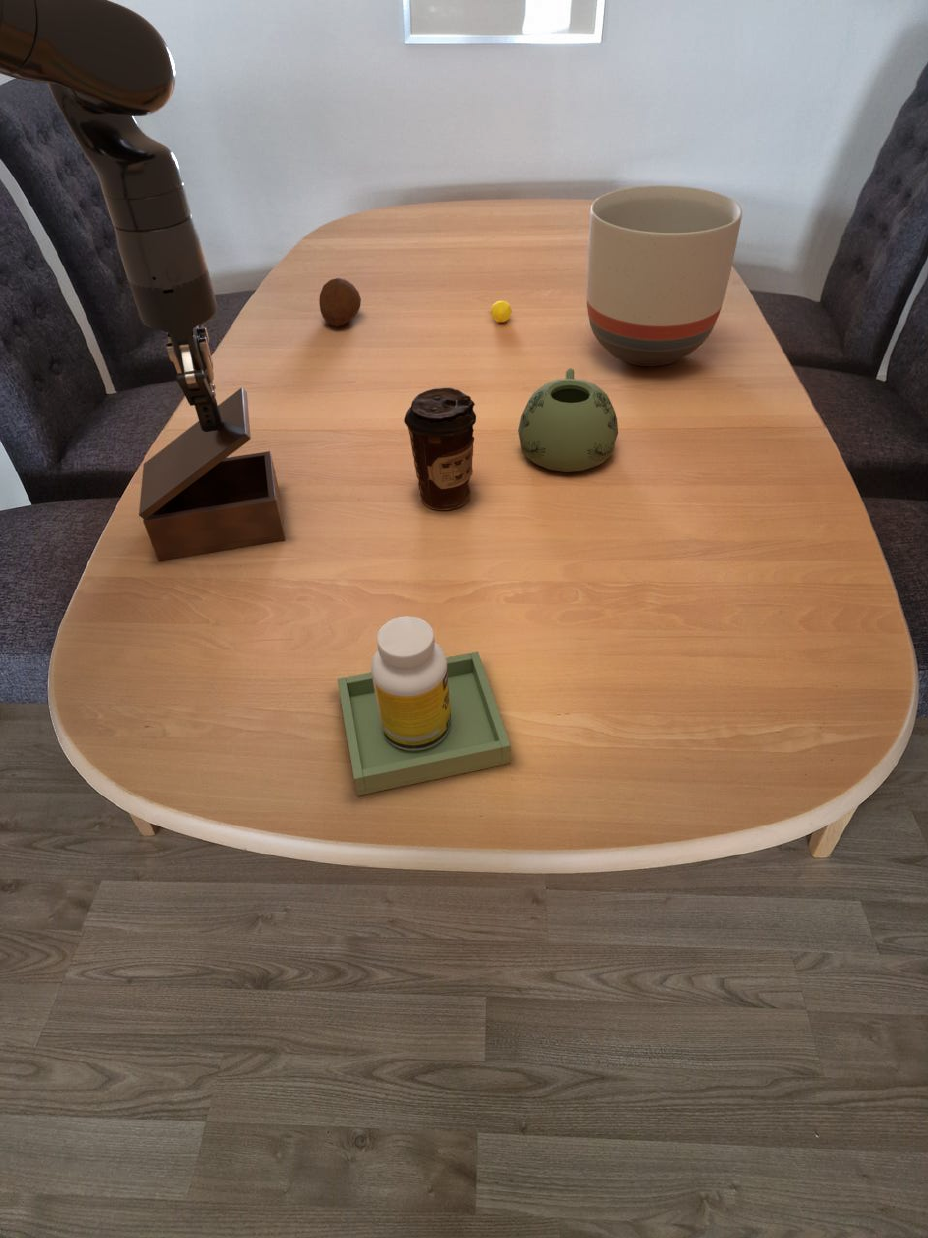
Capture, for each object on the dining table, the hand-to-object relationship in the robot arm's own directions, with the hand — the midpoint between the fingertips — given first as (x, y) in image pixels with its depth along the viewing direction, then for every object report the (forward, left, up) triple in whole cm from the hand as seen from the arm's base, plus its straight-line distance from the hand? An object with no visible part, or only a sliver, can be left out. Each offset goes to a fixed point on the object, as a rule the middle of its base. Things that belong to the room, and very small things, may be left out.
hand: (212, 427), depth 89 cm
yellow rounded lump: (+45, +46, -13) cm, 66 cm away
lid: (-3, 0, -3) cm, 4 cm away
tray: (+15, -37, -13) cm, 42 cm away
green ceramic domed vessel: (+43, +5, -13) cm, 46 cm away
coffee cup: (+25, -2, -13) cm, 29 cm away
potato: (+19, +54, -13) cm, 59 cm away
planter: (+63, +26, -13) cm, 70 cm away
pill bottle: (+15, -37, -12) cm, 42 cm away
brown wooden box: (-2, 0, -13) cm, 13 cm away
